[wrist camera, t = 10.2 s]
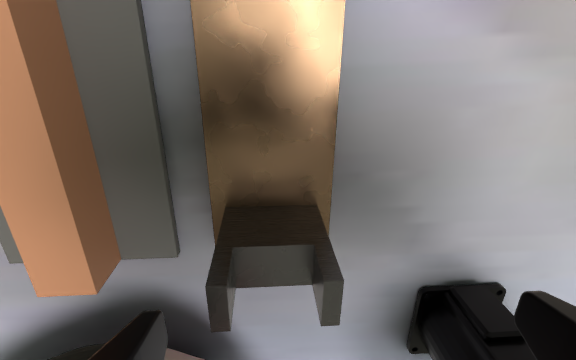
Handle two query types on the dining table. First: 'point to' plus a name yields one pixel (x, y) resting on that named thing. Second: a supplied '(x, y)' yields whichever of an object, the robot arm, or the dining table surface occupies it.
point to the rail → (49, 158)
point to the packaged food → (81, 355)
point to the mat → (119, 125)
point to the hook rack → (270, 145)
